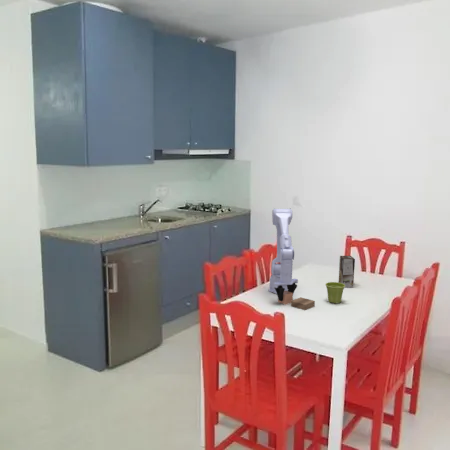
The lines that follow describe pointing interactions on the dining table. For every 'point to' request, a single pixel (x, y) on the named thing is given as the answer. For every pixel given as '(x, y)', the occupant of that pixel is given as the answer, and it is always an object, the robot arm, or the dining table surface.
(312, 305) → the walnut block
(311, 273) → the dining table surface
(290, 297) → the terracotta cube
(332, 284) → the plant pot
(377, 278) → the dining table surface
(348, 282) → the coffee box
